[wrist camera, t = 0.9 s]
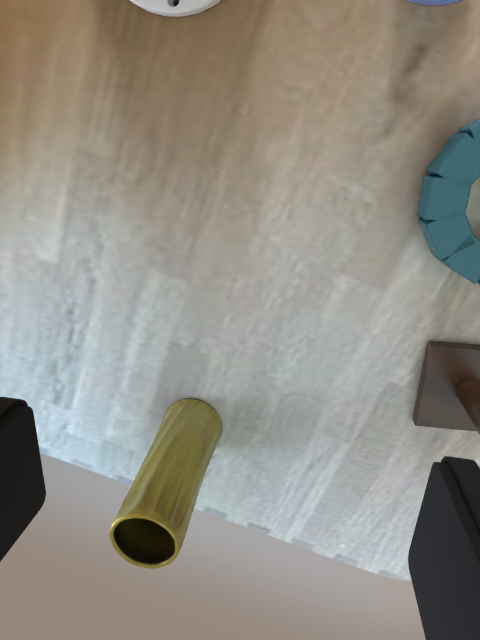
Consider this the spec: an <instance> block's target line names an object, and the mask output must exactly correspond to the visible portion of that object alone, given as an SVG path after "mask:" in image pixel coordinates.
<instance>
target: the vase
mask: <svg viewBox="0 0 480 640" xmlns="http://www.w3.org/2000/svg"><path fill="white" fill-rule="evenodd" d="M221 434H222V423H221V420H220V418H219V416H218V414H217V413H216V411H215V410H214V409H213V408H212V407H210V406H209V405H207V404H206V403H204V402H201V401H198V400H194V399H184V400H180V401H178V402H176V403H174V404H172V405H171V406H170V407H169V408H168V409H167V411H166V413H165V415H164V418H163V422H162V424H161V427H160V429H159V431H158V433H157V435H156V437H155V439H154V442H153V444H152V446H151V448H150V450H149V452H148V454H147V456H146V458H145V460H144V462H143V464H142V466H141V468H140V470H139V472H138V474H137V476H136V478H135V480H134V482H133V484H132V487H131V489H130V491H129V492H128V494H127V496H126V498H125V500H124V502H123V504H122V506H121V508H120V510H119V512H118V514H117V516H116V518H115V520H114V522H113V524H112V526H111V528H110V531H109V536H110V541H111V543H112V545H113V547H114V549H115V550H116V552H117V553H118V554H119V555H120V556H121V557H122V558H123V559H125V560H126V561H128V562H129V563H131V564H133V565H136V566H140V567H144V568H160V567H163V566H166V565H168V564H169V563H171V562H172V561H173V560H174V559H175V558H176V557H177V555H178V554H179V551H180V549H181V547H182V544H183V541H184V538H185V535H186V532H187V528H188V525H189V521H190V519H191V515H192V512H193V509H194V506H195V503H196V499H197V496H198V493H199V490H200V487H201V484H202V481H203V478H204V475H205V472H206V469H207V467H208V465H209V462H210V460H211V457H212V455H213V452H214V450H215V447H216V444H217V442H218V440H219V439H220V437H221Z"/></svg>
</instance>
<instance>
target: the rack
mask: <svg viewBox="0 0 480 640" xmlns="http://www.w3.org/2000/svg"><path fill="white" fill-rule="evenodd" d="M413 421H414V424H415V425H417V426H427V427H438V428H448V429H458V430H469V431H478V432H479V434H480V345H470V344H456V343H441V342H428V345H427V350H426V355H425V360H424V365H423V370H422V375H421V380H420V385H419V390H418V395H417V400H416V405H415V410H414V415H413Z"/></svg>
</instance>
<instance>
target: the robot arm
mask: <svg viewBox="0 0 480 640" xmlns="http://www.w3.org/2000/svg"><path fill="white" fill-rule="evenodd" d="M129 1H131V2H132V3H133V4H135V5H137V6H139V7H141V8H143V9H145V10H146V11H148V12H151V13H155V14H159V15H162V16H173V17H183V16H188V15H193V14H197V13H200V12H202V11H204V10H206V9H209V8H211V7H213V6H215V5H216V4H217V3H219V2H220V1H221V0H179V4H178V5H177V6H174V1H175V0H129ZM45 496H46V490H45V483H44V477H43V472H42V465H41V458H40V452H39V446H38V439H37V433H36V427H35V420H34V414H33V410H32V408H31V407H28V405H27V403H26V401H24V400H21V399H14V398H6V397H0V561H1V560H2V559H3V557H4V556H5V555H6V553H7V552H8V551H9V549H10V548H11V547H12V546H13V544H14V543H15V542H16V540H17V539H18V538H19V536H20V535H21V534H22V533H23V531H24V530H25V529H26V527H27V526H28V525H29V523H30V522H31V521H32V519H33V518H34V517H35V515H36V514H37V513H38V511H39V510H40V509H41V507H42V505H43V503H44V501H45ZM408 563H409V570H410V575H411V579H412V583H413V587H414V591H415V596H416V600H417V604H418V608H419V612H420V616H421V621H422V625H423V629H424V633H425V638H426V640H480V468H479V467H478V465H477V463H476V462H475V461H474V460H470V459H462V458H455V457H447V456H446V457H443V459H442V461H441V463H440V462H434V463H433V465H432V468H431V471H430V475H429V479H428V483H427V486H426V490H425V494H424V497H423V501H422V505H421V509H420V512H419V516H418V520H417V523H416V527H415V531H414V535H413V538H412V542H411V546H410V549H409V556H408Z"/></svg>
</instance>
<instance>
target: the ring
mask: <svg viewBox="0 0 480 640" xmlns="http://www.w3.org/2000/svg"><path fill="white" fill-rule="evenodd" d="M458 131H459V134H453V135H452V136H451V138H450V139H449V140H448V142H447V143H446V144H445V146H444V147H443V148H442V150H441V151H440V152H439V154H438V155H437V156H436V158H435V159H434V160H433V162H432V163H431V165H430V166H429V167H428V169H427V171H428V172H429V173H431V174H432V175H434V176H432V175H425V176H424V178H423V184H422V190H421V196H420V202H419V208H418V215H419V216H421V217H422V218H420V219H418V221H419V224H420V226H421V229H422V231H423V233H424V236H425V238H426V240H427V243H428V245H429V248H430V250H431V252H432V253H433V254H434V255H435V257H436V258H438V259H439V260H440V261H441V262H442V263H444V264H445V265H446V266H448V267H450V268H451V269H453V270H454V271H456V272H457V273H459V274H460V275H462V276H463V277H465V278H466V279H468V280H470V281H471V282H473V283H474V284H476V283H478V284H479V285H480V241H479V240H477V239H476V238H474V235H473V233H472V230H471V227H470V225H469V222H468V220H467V217H466V214H465V212H466V207H467V203H468V198H469V193H470V188H471V185H472V184H473V183H474V182H475V180H476V179H477V178H478V177H479V175H480V118H479V119H477V120H475V121H474V122H472V123H470V124H468V125H466V126H464V127H462V128H460V129H459V130H458Z"/></svg>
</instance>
